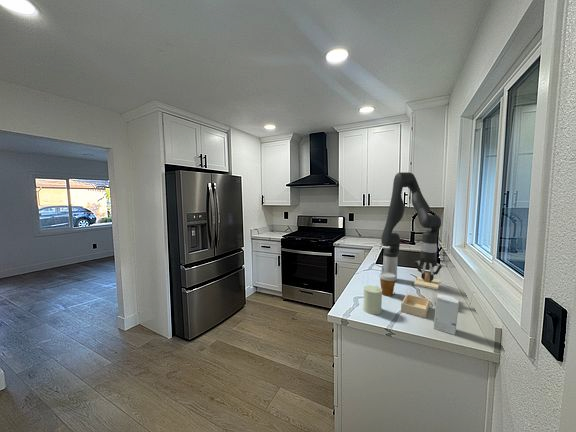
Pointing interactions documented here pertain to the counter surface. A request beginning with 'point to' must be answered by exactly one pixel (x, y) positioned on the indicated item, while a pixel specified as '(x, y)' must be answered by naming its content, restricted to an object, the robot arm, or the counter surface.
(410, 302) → the tan shallow open box
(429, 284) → the lid
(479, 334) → the counter surface
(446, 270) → the counter surface
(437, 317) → the skincare box
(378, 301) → the can
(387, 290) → the disposable coffee cup
